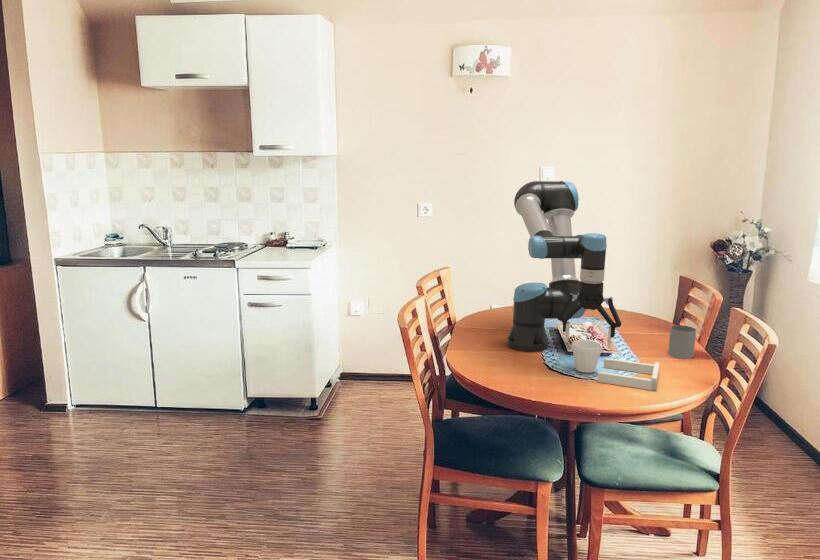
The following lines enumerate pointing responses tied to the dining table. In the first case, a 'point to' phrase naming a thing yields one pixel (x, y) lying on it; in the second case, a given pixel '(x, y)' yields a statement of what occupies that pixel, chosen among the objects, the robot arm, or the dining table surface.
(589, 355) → the cup
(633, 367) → the bracket
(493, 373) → the dining table surface
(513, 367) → the dining table surface
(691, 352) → the cup
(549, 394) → the dining table surface
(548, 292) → the robot arm
